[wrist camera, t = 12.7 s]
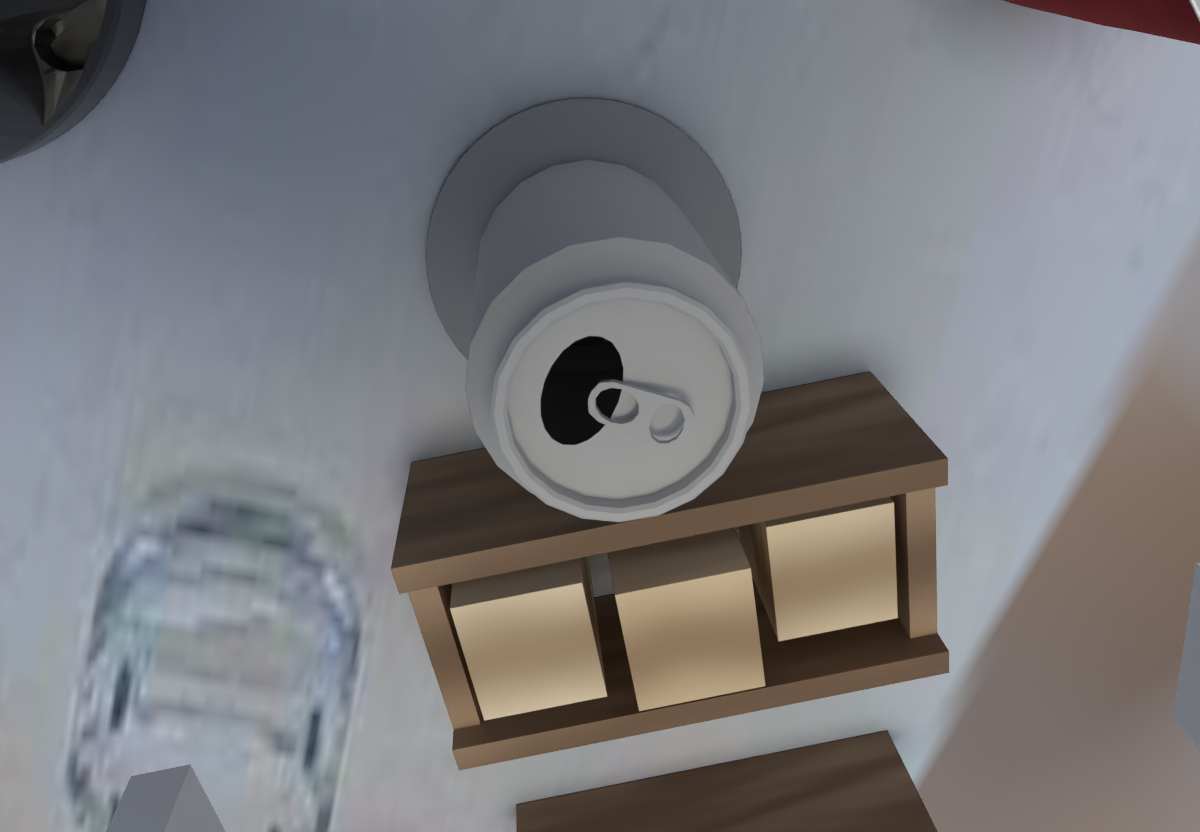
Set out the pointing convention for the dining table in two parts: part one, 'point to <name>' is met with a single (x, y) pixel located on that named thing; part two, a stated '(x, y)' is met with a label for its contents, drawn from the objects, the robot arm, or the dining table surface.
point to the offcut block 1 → (530, 638)
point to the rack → (791, 667)
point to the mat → (559, 140)
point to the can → (607, 346)
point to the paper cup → (1131, 15)
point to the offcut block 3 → (825, 567)
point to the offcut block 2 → (688, 618)
